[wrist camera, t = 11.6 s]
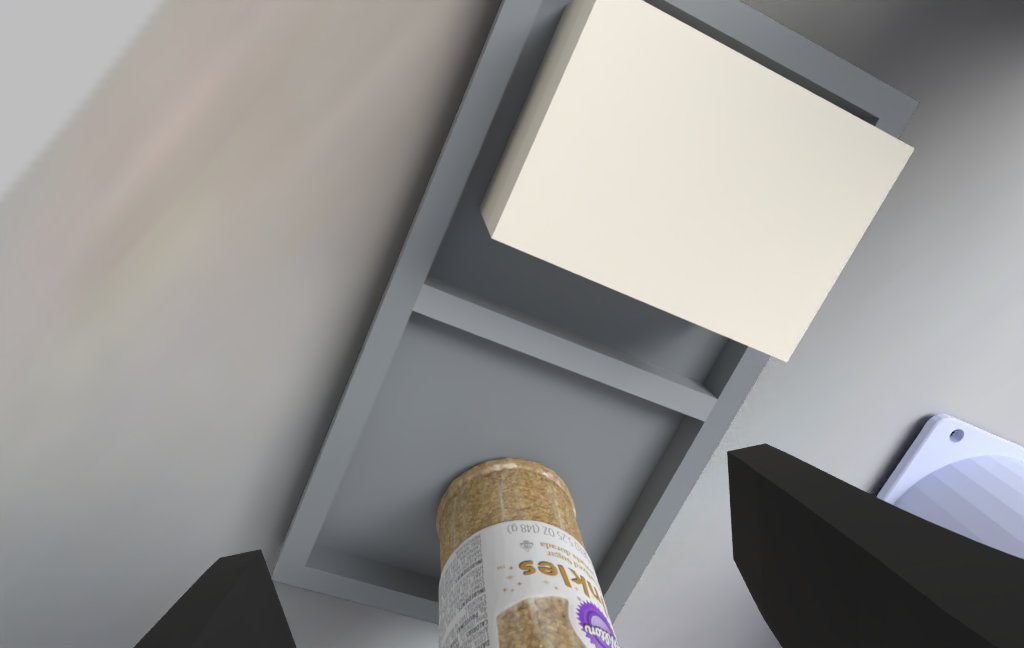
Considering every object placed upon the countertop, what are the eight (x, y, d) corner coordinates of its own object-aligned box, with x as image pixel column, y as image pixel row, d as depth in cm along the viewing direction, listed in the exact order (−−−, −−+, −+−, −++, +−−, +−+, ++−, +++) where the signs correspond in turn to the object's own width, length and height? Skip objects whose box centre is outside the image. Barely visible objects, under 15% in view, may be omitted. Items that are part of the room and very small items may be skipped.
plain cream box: (818, 136, 19) (914, 148, 15) (720, 311, 20) (786, 362, 16) (566, 4, 17) (605, -20, 13) (478, 208, 18) (491, 238, 15)
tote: (881, 101, 19) (919, 102, 18) (579, 628, 24) (588, 664, 23) (538, -90, 17) (549, -108, 15) (281, 546, 22) (270, 580, 20)
